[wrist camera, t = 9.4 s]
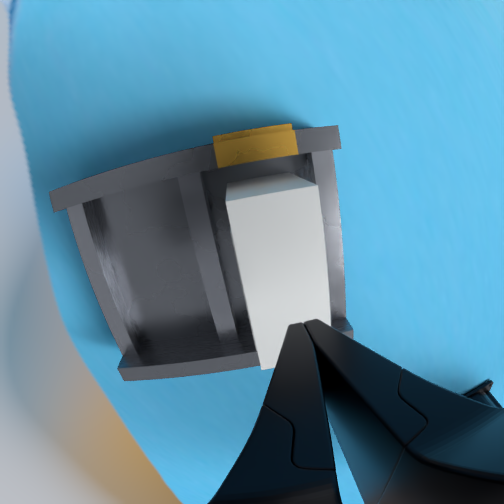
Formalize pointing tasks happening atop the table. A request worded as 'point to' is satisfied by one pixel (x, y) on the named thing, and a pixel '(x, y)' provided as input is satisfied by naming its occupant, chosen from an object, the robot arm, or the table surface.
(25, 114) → the table surface
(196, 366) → the grey divided tray
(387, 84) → the table surface
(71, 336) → the table surface
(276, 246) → the white rectangular block
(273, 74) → the table surface
